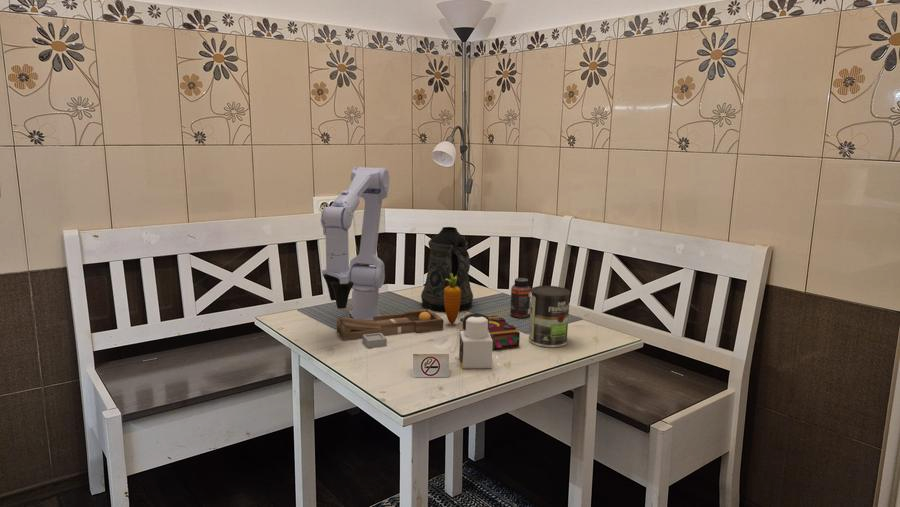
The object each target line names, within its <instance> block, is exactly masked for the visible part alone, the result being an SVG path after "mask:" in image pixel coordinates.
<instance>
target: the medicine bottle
mask: <svg viewBox="0 0 900 507" xmlns="http://www.w3.org/2000/svg"><path fill="white" fill-rule="evenodd" d="M463 318H464V330H463V331H460V330H459V348H458V350H459V355H458V358H459V361H460V365H461V369H463V370H465V369H466V370H467V369H492V367H493V350H492V346H493V340H492V338H491V336H490V333H489V318H488V317H487V315H485V314H483V313H476V312H475V313H469V314H467V315H464V317H463Z"/></svg>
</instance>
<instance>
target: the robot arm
mask: <svg viewBox="0 0 900 507" xmlns="http://www.w3.org/2000/svg"><path fill="white" fill-rule="evenodd" d="M389 175H390V174H389V171H388V169H387V168H386V167H367V166H364V167H363V166H354V167H353V169H352V170H351V174H350V183H349V186H348V188H347V189H343V190H342V191H341V192H340V193H339V194H338V196H337V197H336V198H335V200H334V201H333V203H331V205H330V206H329V205H328V206H326V207H324V208H323V209H322V211H321V218H320V224H321V227H322V229H323V230H322V233H323V236H324V237H325V265H326V266H325V269H321V274H322V276H323V279H324V281H325V282H326V286H327V289H328V295H329V298H330V301H332V302H333V301H335V304H336V308H337V309H338V310H339V309H340V310H341V309H346V308H347V305H348V301H349V297H350V296H349V295H350V293H351V290H352V293H351V310H349V311H348V314H349V315H350V314H351V315H350V316H351V318H355V319H365V320H373V317H375V316H382V315H381V313H380V312H379V310H380V309H379V304H380V303H379V301H380V300H379V299H380V298H379V297H380V294H379V293H380V292H379V289H380V288H382V287H383V285H384V283H385V279H386V274H385V273H386V272H385V263H384V261H383V260H382V259H381V258H379V257H378V255H377V251H378V250H377V249H378V242H379V241H378V240H379V232H380V221H381V213H382V212H381V210H382V203H383V200H385V199H386V198H388V194H389V186H390V176H389ZM360 198H362V199H363V200H364V209H363V217H362V225H361V226H362V227H361V236H360V245H359V253H358V254H357V255H356V256H355V257H353V258H352V259H351V260H349V259H350V258H349V229H350V228H351V226H352V222H353V218H354V213H355V211H356V210H357V209H358V207H359V205H360ZM349 261H350V263H349Z"/></svg>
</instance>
